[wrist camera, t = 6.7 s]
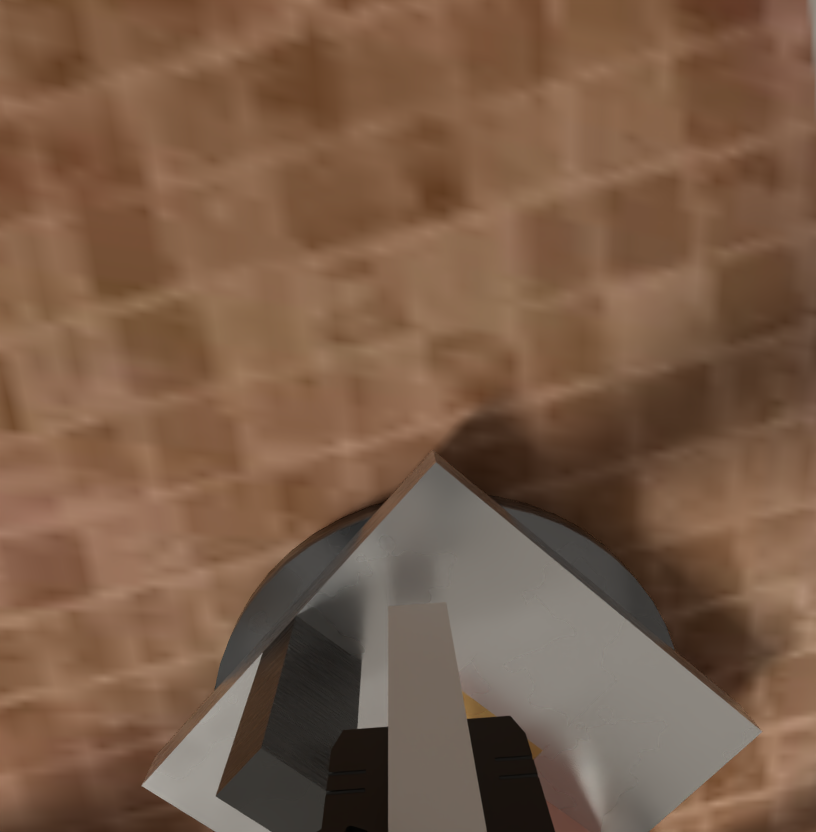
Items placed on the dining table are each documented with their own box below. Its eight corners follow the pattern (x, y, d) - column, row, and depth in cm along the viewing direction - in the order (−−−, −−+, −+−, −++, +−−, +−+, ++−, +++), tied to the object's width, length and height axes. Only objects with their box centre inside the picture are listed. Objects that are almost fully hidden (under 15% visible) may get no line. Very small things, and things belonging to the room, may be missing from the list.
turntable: (155, 755, 20) (54, 967, 14) (432, 449, 18) (456, 541, 12) (464, 951, 22) (493, 1203, 16) (740, 705, 20) (892, 890, 14)
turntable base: (186, 513, 19) (176, 526, 18) (674, 473, 19) (689, 484, 18) (254, 896, 23) (248, 924, 22) (661, 858, 23) (673, 884, 22)
